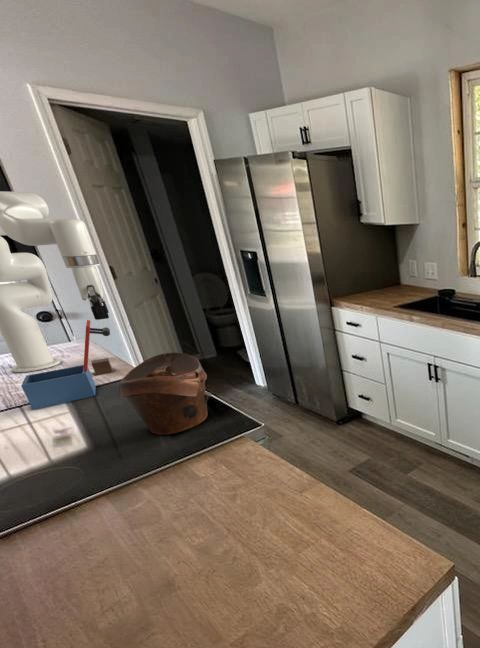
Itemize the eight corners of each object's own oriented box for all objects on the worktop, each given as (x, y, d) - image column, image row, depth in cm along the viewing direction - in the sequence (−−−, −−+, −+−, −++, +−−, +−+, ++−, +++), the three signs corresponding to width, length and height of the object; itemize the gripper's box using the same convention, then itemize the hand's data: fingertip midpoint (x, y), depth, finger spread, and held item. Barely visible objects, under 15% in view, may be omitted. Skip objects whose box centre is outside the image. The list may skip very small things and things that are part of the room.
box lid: (85, 326, 125) (110, 328, 129) (87, 320, 133) (110, 322, 137) (83, 371, 127) (107, 372, 131) (84, 362, 135) (107, 363, 139)
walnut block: (96, 372, 151) (91, 360, 150) (112, 368, 154) (108, 357, 153) (96, 375, 148) (91, 363, 147) (112, 371, 151) (108, 360, 149)
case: (157, 449, 99) (131, 381, 93) (123, 430, 109) (97, 367, 102) (234, 418, 114) (216, 357, 107) (198, 403, 123) (179, 347, 117)
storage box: (32, 409, 122) (21, 385, 119) (37, 398, 130) (26, 375, 127) (95, 395, 131) (85, 373, 128) (95, 385, 139) (86, 364, 136)
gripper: (66, 260, 129) (86, 313, 135) (62, 265, 117) (85, 323, 123) (98, 258, 134) (117, 310, 140) (98, 262, 122) (118, 318, 128)
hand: (102, 316), depth 132 cm, fingers open, 9 cm apart
